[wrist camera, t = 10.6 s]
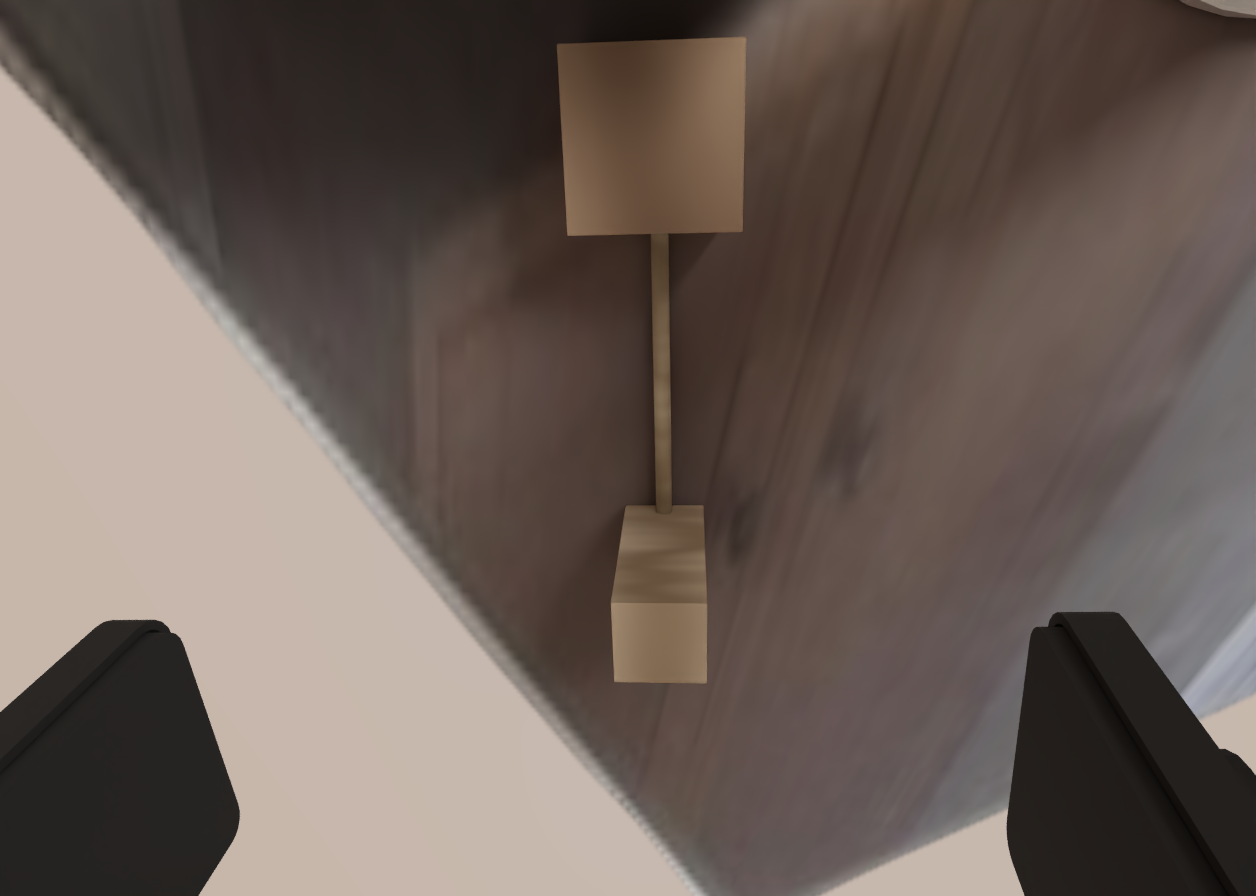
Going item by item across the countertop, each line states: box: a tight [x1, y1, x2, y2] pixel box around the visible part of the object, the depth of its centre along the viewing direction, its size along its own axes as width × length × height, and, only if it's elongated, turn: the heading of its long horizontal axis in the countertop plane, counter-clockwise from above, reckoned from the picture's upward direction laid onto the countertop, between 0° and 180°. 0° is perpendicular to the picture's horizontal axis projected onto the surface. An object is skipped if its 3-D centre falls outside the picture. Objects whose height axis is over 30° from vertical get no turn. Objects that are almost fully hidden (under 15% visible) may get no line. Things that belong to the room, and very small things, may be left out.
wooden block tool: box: [557, 37, 746, 683], centre depth 28 cm, size 5×19×7 cm, turn 1°
